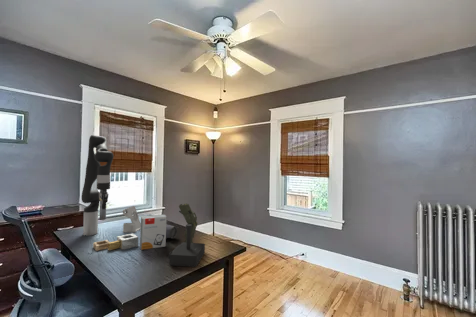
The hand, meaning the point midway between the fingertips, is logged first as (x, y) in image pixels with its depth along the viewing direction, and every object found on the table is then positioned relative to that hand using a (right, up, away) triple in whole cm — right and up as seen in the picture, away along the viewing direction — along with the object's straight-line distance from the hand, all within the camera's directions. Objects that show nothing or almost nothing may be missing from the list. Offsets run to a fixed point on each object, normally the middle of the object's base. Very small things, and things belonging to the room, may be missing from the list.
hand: (102, 208), depth 148 cm
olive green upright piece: (+55, -26, +2) cm, 61 cm away
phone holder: (+2, -26, +39) cm, 47 cm away
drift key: (+10, -25, -2) cm, 27 cm away
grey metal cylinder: (0, -7, 0) cm, 7 cm away
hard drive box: (+31, -26, +3) cm, 41 cm away
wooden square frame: (0, -25, 0) cm, 25 cm away
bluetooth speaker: (+31, -26, +21) cm, 46 cm away
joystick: (+58, -26, -16) cm, 66 cm away
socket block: (+14, -26, +3) cm, 30 cm away
